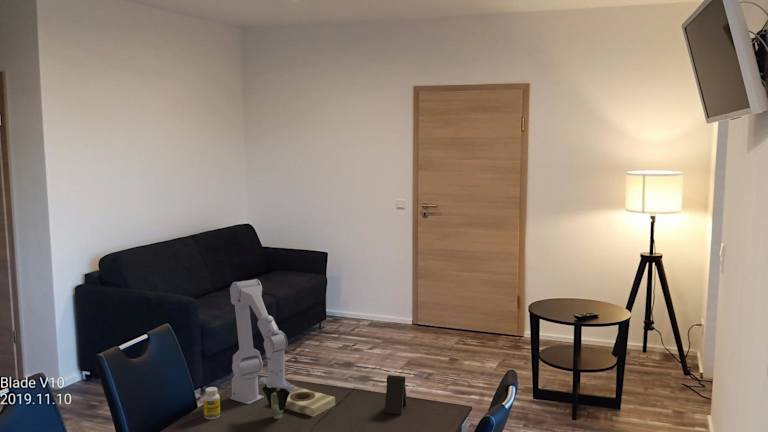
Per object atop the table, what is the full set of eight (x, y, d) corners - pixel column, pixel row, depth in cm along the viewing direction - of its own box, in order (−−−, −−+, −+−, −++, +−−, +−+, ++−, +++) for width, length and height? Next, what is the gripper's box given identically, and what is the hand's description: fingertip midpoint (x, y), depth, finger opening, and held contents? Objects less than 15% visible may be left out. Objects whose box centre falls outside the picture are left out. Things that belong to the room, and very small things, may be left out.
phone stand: (401, 415, 229) (401, 381, 228) (384, 413, 231) (384, 379, 229) (407, 405, 238) (407, 372, 237) (391, 403, 239) (390, 371, 238)
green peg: (269, 417, 228) (268, 395, 227) (277, 413, 231) (276, 391, 230) (277, 420, 225) (277, 397, 225) (285, 416, 229) (285, 393, 228)
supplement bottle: (206, 421, 225) (205, 392, 224) (202, 415, 230) (201, 387, 229) (222, 417, 228) (221, 390, 227) (218, 412, 233) (217, 385, 232)
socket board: (270, 404, 240) (270, 395, 239) (293, 393, 249) (292, 385, 249) (313, 416, 228) (313, 407, 228) (335, 405, 238) (335, 396, 238)
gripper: (252, 368, 227) (253, 407, 229) (284, 376, 219) (285, 416, 220) (267, 362, 233) (268, 400, 234) (298, 370, 225) (299, 409, 226)
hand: (277, 408), depth 228 cm, fingers closed on green peg, 4 cm apart
